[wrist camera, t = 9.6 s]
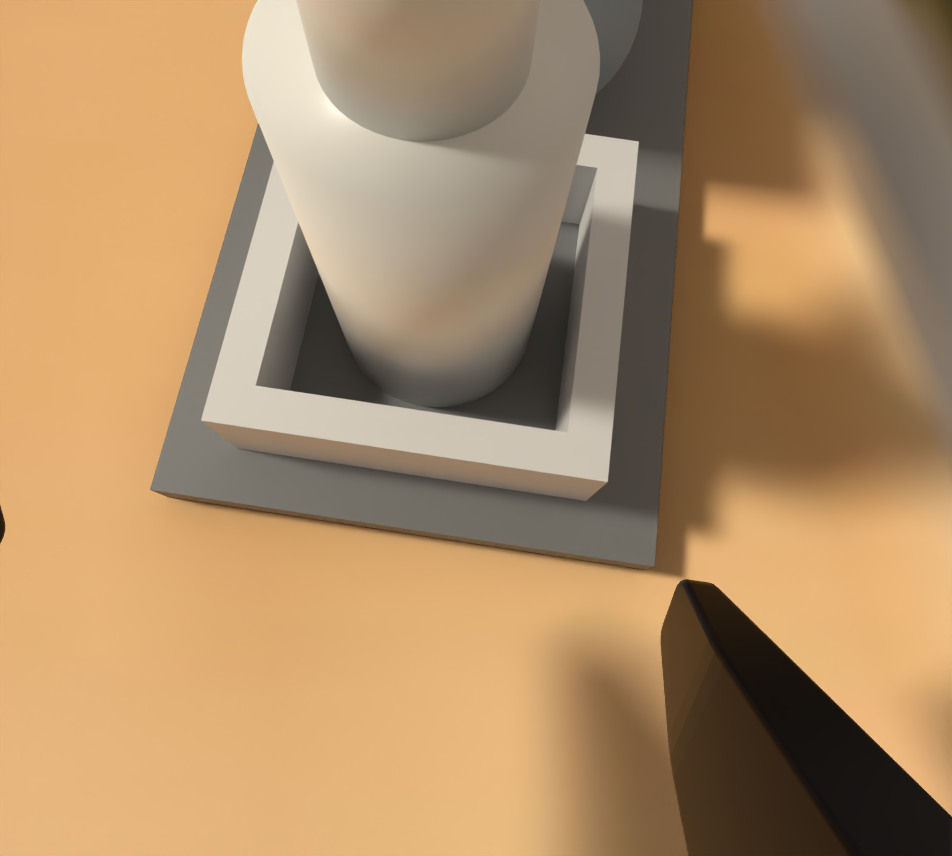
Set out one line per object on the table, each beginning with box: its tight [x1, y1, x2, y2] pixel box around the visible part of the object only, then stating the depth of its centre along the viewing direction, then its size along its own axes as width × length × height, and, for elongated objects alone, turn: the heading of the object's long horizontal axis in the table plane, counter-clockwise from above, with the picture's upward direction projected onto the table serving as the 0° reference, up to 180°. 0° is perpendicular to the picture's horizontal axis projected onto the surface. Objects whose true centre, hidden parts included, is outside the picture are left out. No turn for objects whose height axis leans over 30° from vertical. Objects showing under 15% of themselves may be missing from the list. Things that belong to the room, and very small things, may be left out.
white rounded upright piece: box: [242, 0, 600, 408], centre depth 12 cm, size 7×5×12 cm
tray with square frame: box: [150, 0, 693, 569], centre depth 16 cm, size 24×13×10 cm, turn 172°
